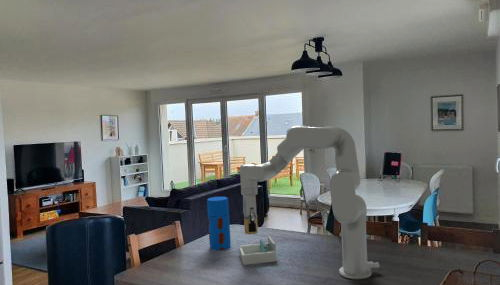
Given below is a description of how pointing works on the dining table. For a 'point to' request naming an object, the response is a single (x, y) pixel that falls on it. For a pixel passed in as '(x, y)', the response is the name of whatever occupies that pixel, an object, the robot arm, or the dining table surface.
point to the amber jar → (246, 225)
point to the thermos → (218, 223)
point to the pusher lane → (258, 253)
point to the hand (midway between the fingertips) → (251, 229)
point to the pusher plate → (263, 246)
